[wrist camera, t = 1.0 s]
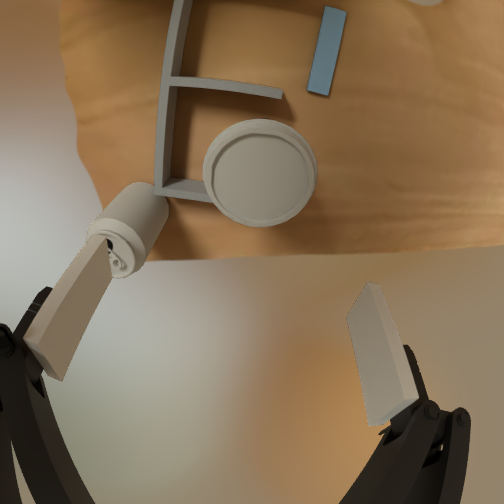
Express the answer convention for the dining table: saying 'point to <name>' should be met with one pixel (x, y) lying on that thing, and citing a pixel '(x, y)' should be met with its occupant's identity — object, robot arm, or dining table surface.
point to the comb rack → (167, 106)
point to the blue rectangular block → (326, 50)
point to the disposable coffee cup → (260, 172)
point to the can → (131, 227)
